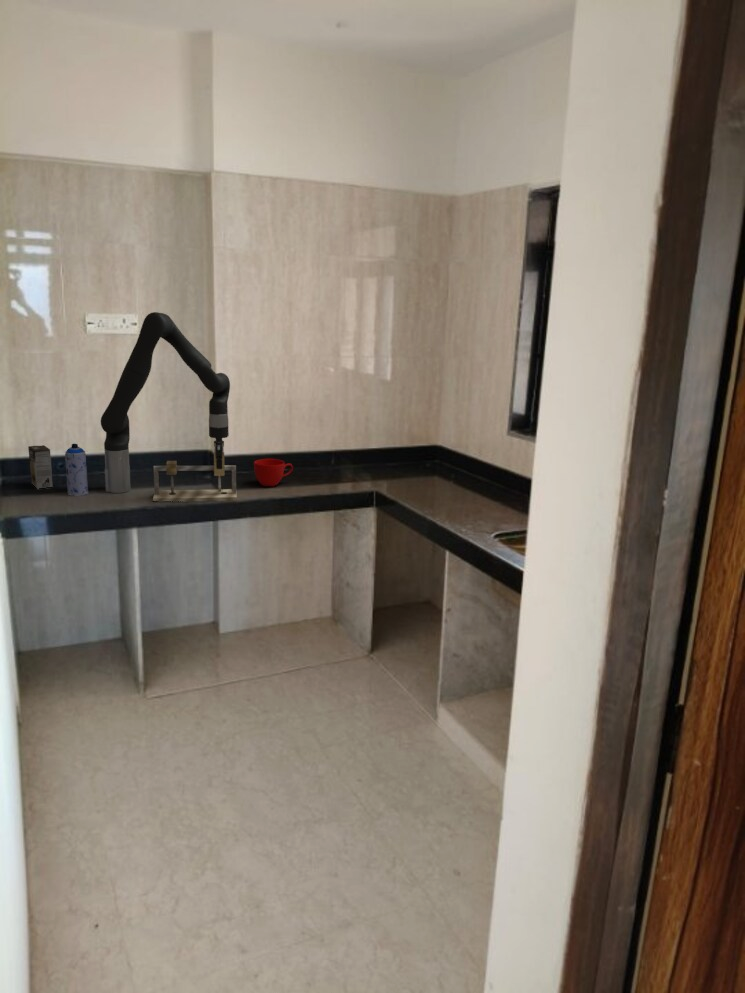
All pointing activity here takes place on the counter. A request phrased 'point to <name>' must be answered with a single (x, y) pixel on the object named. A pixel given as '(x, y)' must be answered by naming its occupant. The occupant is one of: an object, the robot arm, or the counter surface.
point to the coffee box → (40, 466)
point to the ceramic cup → (270, 471)
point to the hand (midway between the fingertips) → (219, 466)
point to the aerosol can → (76, 470)
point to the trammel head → (219, 470)
